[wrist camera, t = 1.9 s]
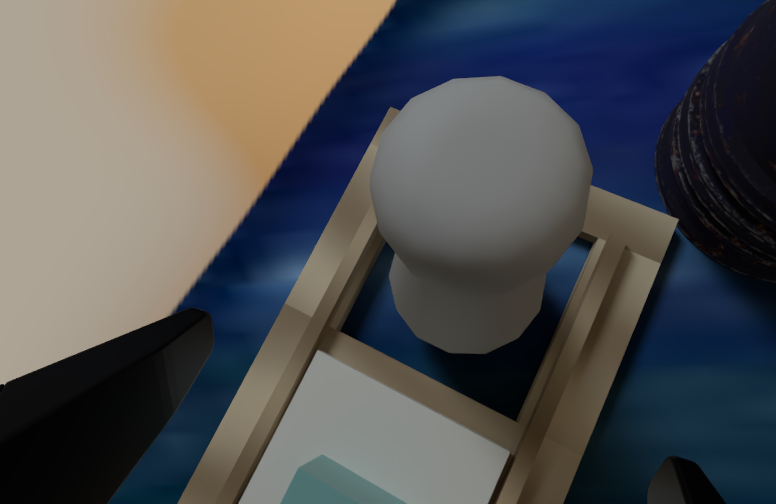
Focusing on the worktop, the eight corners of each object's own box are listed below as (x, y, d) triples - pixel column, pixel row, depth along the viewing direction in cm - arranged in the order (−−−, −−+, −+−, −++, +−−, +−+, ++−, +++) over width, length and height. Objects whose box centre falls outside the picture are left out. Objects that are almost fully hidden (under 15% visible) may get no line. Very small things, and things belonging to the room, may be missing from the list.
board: (377, 943, 17) (368, 1000, 15) (79, 701, 20) (47, 729, 18) (670, 225, 21) (687, 213, 19) (392, 115, 24) (388, 97, 22)
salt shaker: (373, 317, 22) (261, 233, 9) (432, 202, 23) (403, -18, 10) (501, 382, 20) (572, 386, 8) (558, 257, 21) (703, 82, 9)
